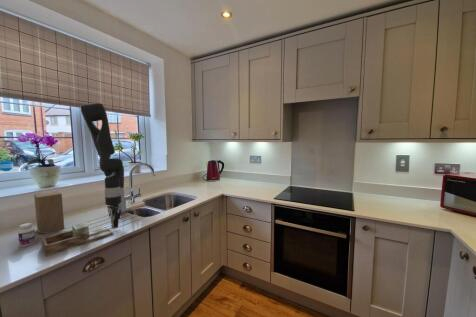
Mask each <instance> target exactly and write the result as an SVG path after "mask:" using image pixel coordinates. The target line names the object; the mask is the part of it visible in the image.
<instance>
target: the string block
mask: <svg viewBox="0 0 476 317" xmlns="http://www.w3.org/2000/svg"><path fill="white" fill-rule="evenodd" d="M113 215H114V214H113ZM116 218H117V217H116ZM110 225H111V227H107V229H103V230H100V231H96V232H93V233H90V234H89V232H90V228H89V225H88V224H87V223H86V222H80V223H77V224H72V225H71V228H72V229H71V230H73V237H76V236H79V235H83V234H85V239H87V238H89V235H92V234H96V233H99V232H103V231H106V230H112V229H117V228H119V225H118V226H117V227H114V224H113V216H112V215H111V218H110Z"/></svg>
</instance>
